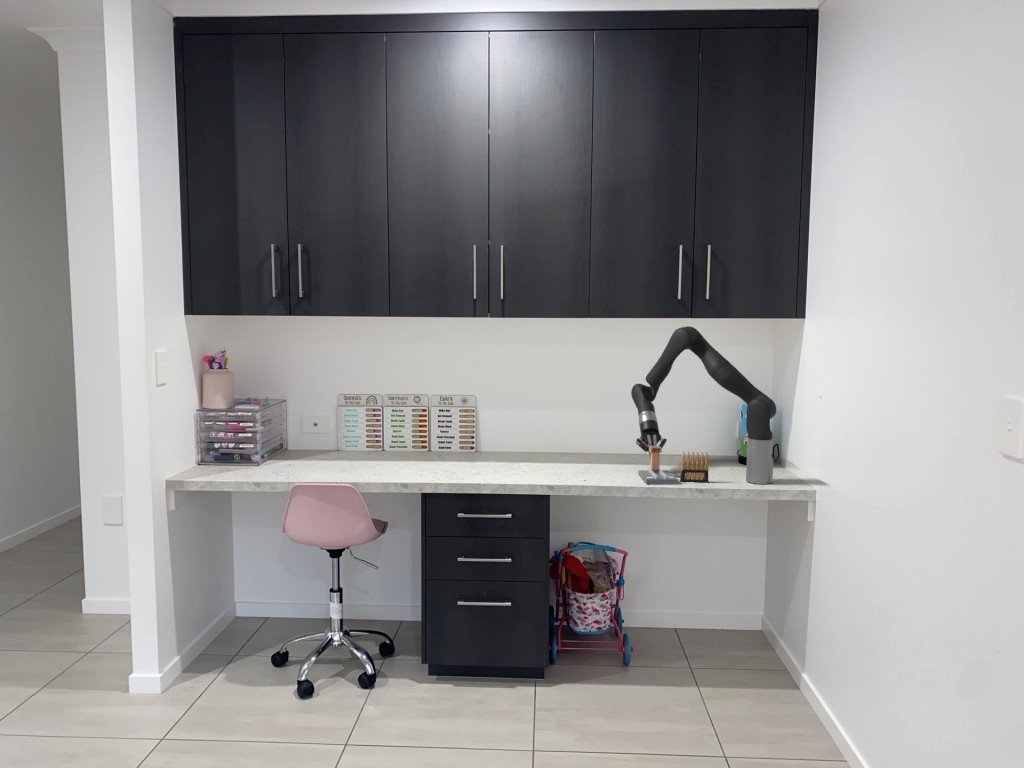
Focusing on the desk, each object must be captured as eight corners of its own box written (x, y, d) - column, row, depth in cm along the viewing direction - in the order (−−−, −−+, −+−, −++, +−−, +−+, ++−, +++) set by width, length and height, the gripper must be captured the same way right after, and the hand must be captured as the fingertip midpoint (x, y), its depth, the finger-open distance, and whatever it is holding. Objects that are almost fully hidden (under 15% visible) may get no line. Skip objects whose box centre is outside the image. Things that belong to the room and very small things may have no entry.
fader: (659, 470, 321) (660, 446, 320) (661, 472, 318) (661, 448, 317) (648, 470, 321) (649, 446, 320) (650, 472, 318) (650, 448, 317)
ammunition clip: (707, 481, 312) (708, 451, 311) (708, 483, 310) (709, 452, 309) (680, 481, 313) (680, 451, 311) (680, 482, 311) (681, 452, 309)
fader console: (667, 475, 323) (667, 467, 323) (677, 484, 307) (677, 476, 307) (638, 475, 322) (638, 467, 322) (646, 484, 307) (646, 476, 306)
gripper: (634, 419, 329) (639, 454, 318) (665, 419, 329) (672, 453, 318) (631, 429, 335) (636, 464, 324) (662, 429, 335) (668, 464, 324)
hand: (654, 459), depth 321 cm, fingers closed
